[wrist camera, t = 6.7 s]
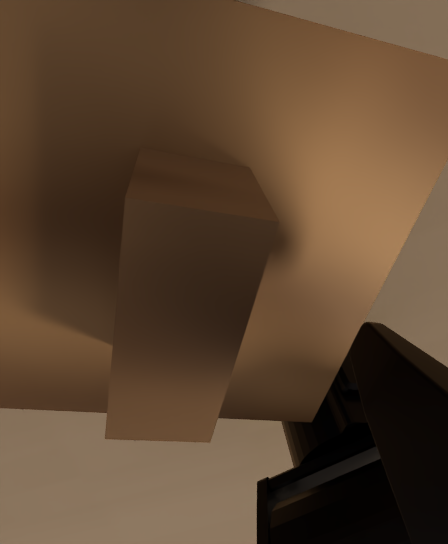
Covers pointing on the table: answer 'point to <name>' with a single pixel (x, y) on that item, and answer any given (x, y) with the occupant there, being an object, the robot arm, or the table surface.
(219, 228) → the lid
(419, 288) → the table surface
